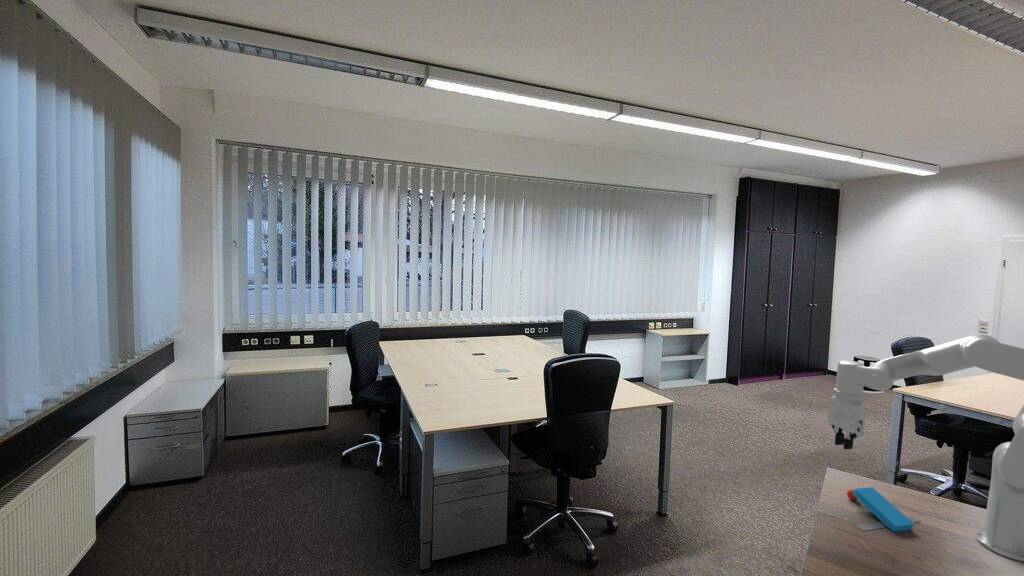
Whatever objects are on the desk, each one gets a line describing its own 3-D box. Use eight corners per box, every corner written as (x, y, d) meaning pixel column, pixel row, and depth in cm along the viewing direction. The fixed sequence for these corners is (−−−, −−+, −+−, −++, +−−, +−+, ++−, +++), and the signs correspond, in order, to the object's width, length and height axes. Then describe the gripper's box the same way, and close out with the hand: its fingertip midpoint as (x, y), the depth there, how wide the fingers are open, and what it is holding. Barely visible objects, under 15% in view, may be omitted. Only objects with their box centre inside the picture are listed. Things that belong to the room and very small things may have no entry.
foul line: (912, 516, 141) (912, 516, 141) (921, 521, 138) (921, 521, 138) (855, 525, 136) (855, 525, 136) (863, 531, 133) (863, 530, 133)
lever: (905, 540, 136) (855, 493, 152) (914, 524, 133) (862, 478, 150) (887, 542, 135) (838, 495, 151) (895, 526, 132) (845, 480, 149)
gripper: (818, 389, 157) (814, 437, 159) (862, 406, 142) (857, 459, 144) (835, 388, 159) (830, 435, 161) (881, 404, 143) (875, 457, 145)
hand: (843, 446), depth 152 cm, fingers closed
